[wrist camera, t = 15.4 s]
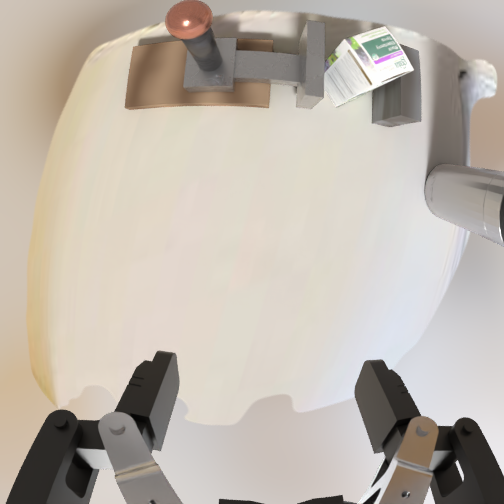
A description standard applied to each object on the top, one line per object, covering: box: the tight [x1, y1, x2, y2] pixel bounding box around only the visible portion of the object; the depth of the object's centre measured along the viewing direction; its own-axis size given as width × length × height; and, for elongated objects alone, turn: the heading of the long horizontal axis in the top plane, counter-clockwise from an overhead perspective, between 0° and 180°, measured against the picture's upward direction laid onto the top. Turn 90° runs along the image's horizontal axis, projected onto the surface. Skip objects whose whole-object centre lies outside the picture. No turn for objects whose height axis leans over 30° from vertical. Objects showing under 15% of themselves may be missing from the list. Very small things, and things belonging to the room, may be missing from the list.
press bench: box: [125, 39, 421, 127], centre depth 29 cm, size 38×10×9 cm, turn 86°
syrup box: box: [324, 26, 414, 107], centre depth 26 cm, size 6×6×14 cm
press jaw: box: [165, 0, 325, 109], centre depth 23 cm, size 16×10×17 cm, turn 86°
